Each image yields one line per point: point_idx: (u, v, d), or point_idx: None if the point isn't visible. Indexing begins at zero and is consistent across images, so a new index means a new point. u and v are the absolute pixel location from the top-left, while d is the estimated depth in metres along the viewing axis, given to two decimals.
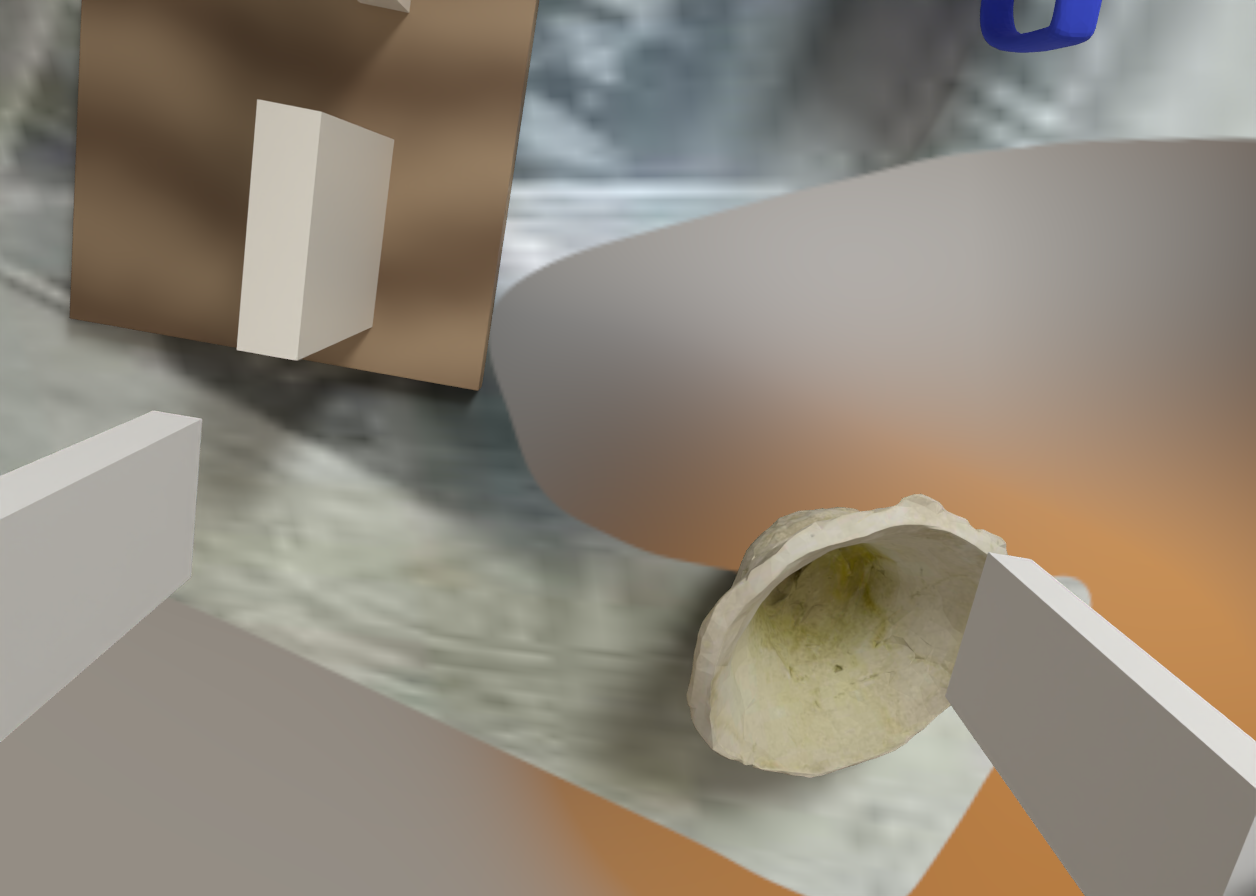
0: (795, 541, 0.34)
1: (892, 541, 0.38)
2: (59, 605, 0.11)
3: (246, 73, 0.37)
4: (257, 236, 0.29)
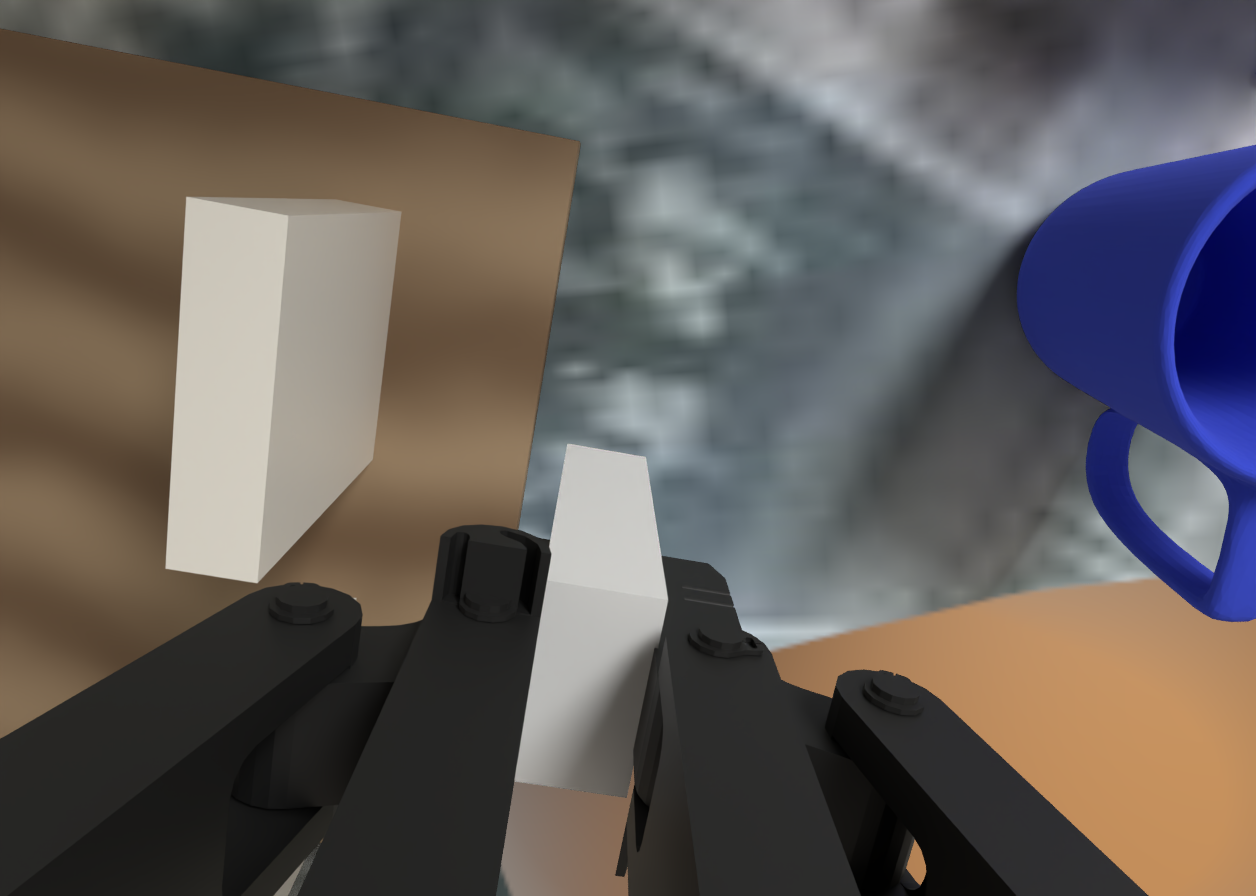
0: None
1: None
2: None
3: None
4: None
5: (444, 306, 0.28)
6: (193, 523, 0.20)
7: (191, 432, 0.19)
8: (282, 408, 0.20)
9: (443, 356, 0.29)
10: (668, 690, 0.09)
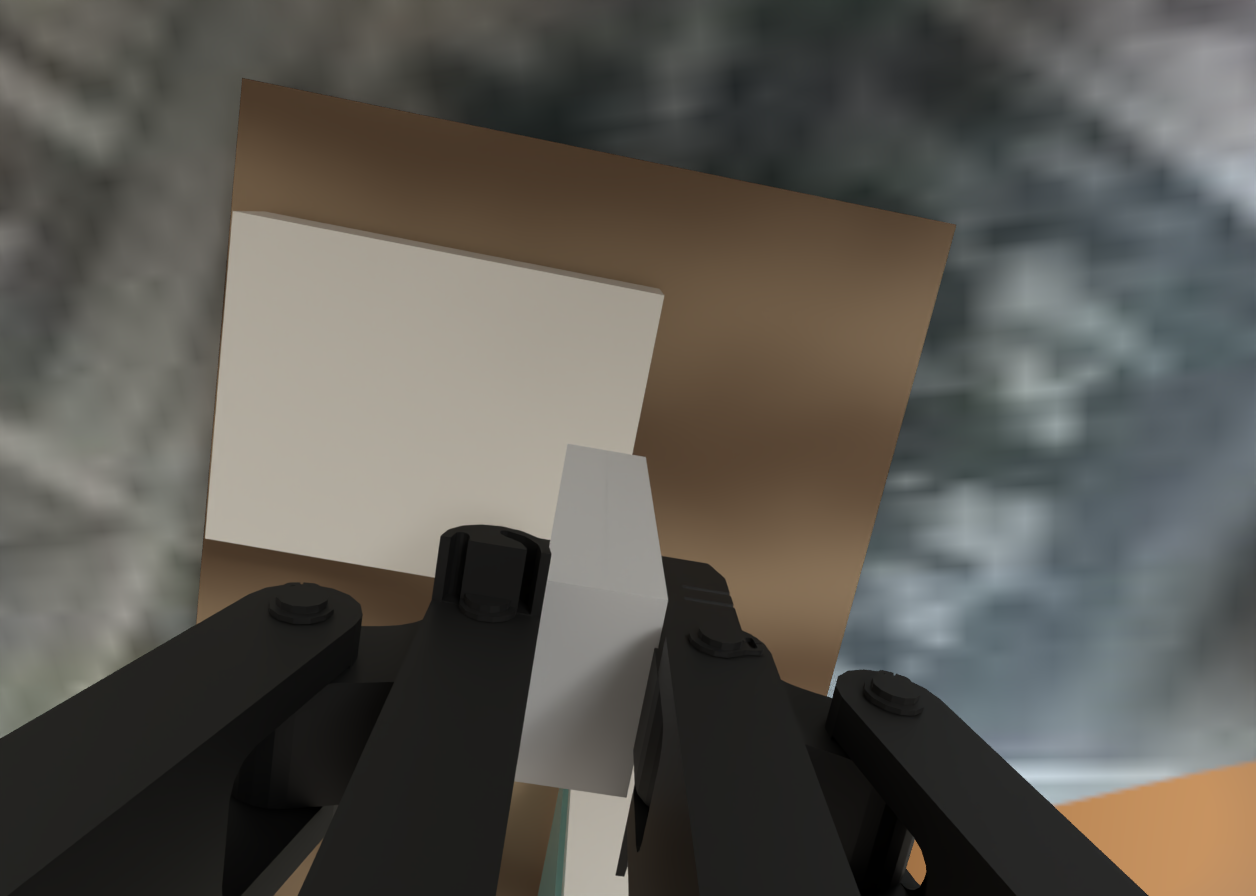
0: None
1: None
2: None
3: None
4: None
5: (778, 413, 0.24)
6: None
7: None
8: (246, 392, 0.21)
9: (770, 470, 0.24)
10: (668, 690, 0.09)
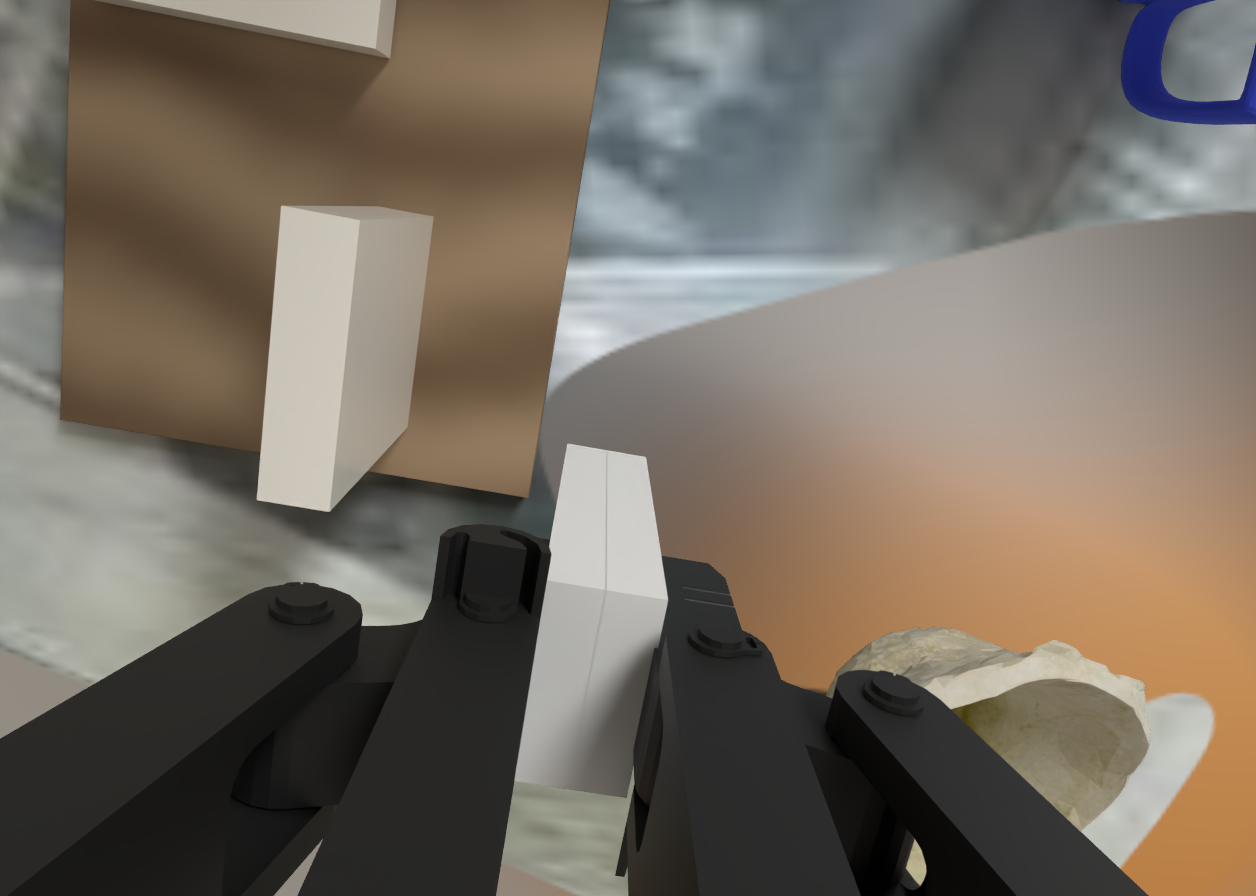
0: None
1: None
2: None
3: (262, 141, 0.32)
4: (281, 368, 0.24)
5: None
6: None
7: None
8: None
9: None
10: (668, 690, 0.09)
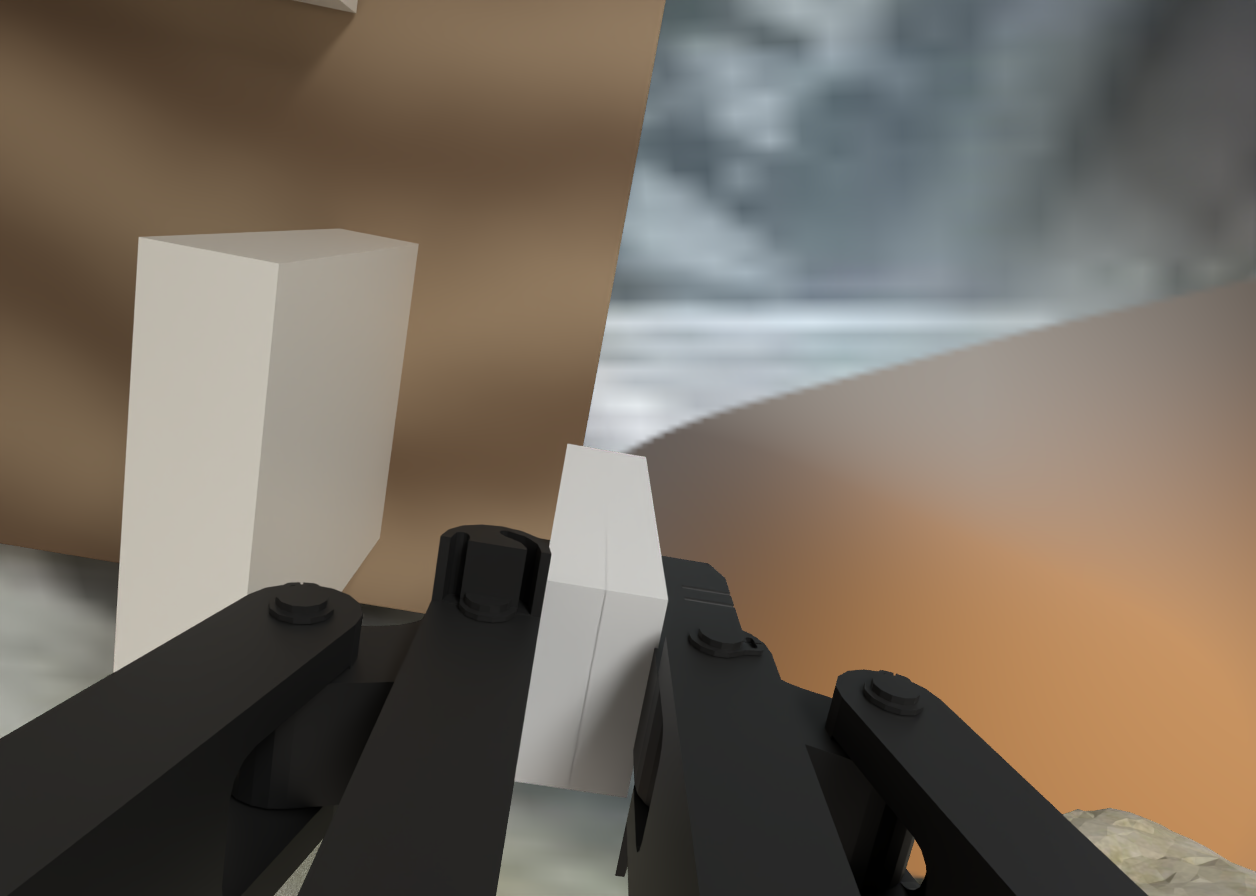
0: None
1: None
2: None
3: (169, 133, 0.22)
4: (146, 513, 0.14)
5: None
6: None
7: None
8: None
9: None
10: (668, 690, 0.09)
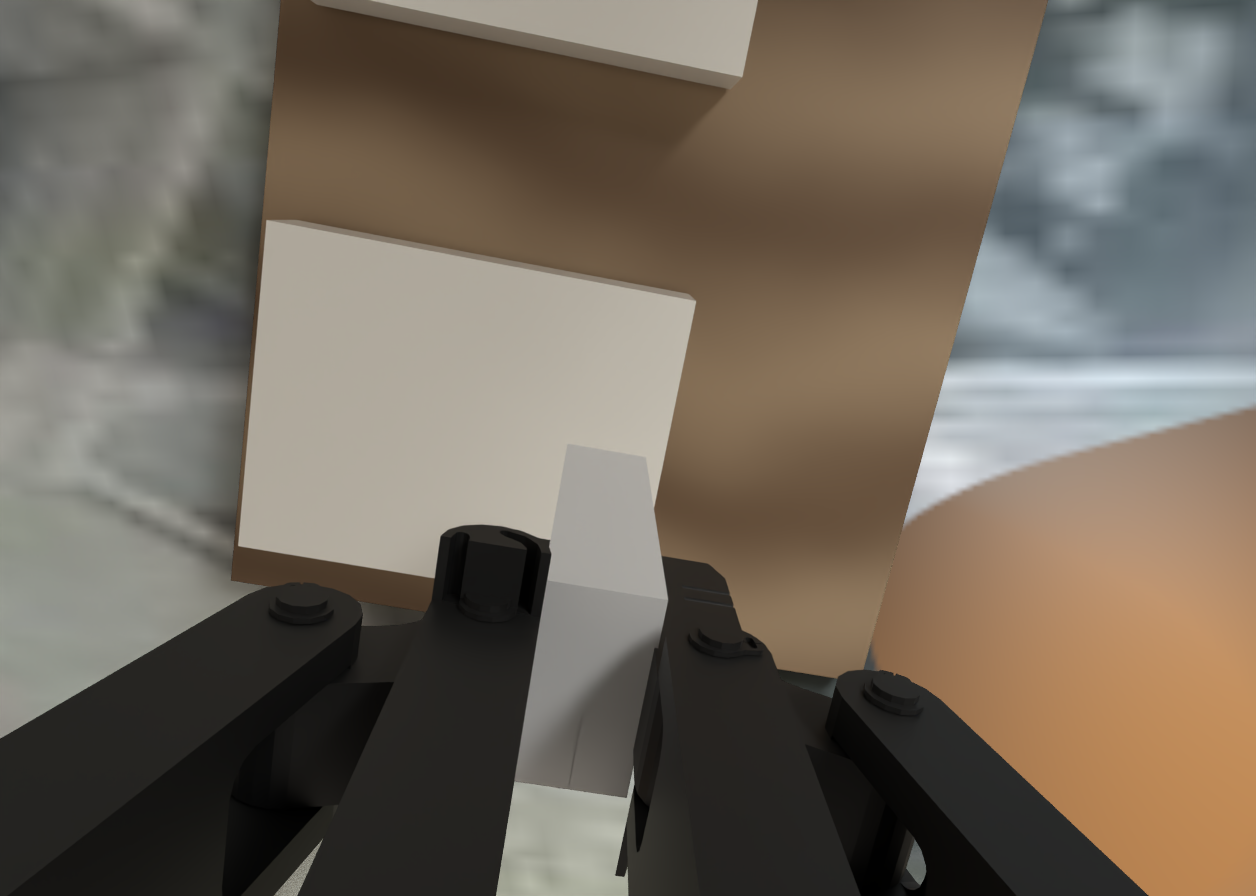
0: None
1: None
2: None
3: (538, 205, 0.23)
4: None
5: None
6: None
7: None
8: None
9: None
10: (668, 690, 0.09)
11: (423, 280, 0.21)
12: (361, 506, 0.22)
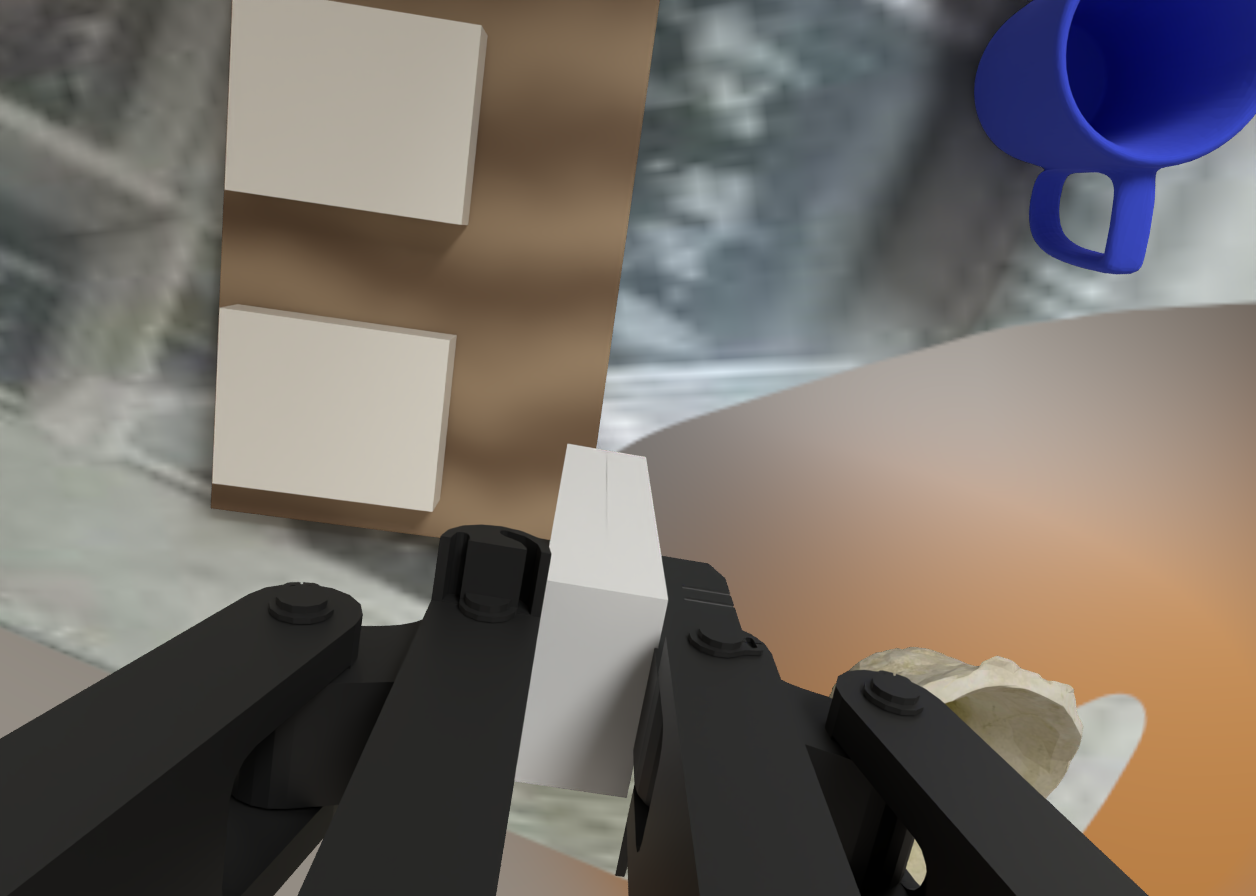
0: None
1: None
2: None
3: (370, 290, 0.41)
4: None
5: (567, 113, 0.40)
6: None
7: None
8: (245, 95, 0.37)
9: (566, 151, 0.40)
10: (668, 690, 0.09)
11: (303, 335, 0.40)
12: (278, 458, 0.41)
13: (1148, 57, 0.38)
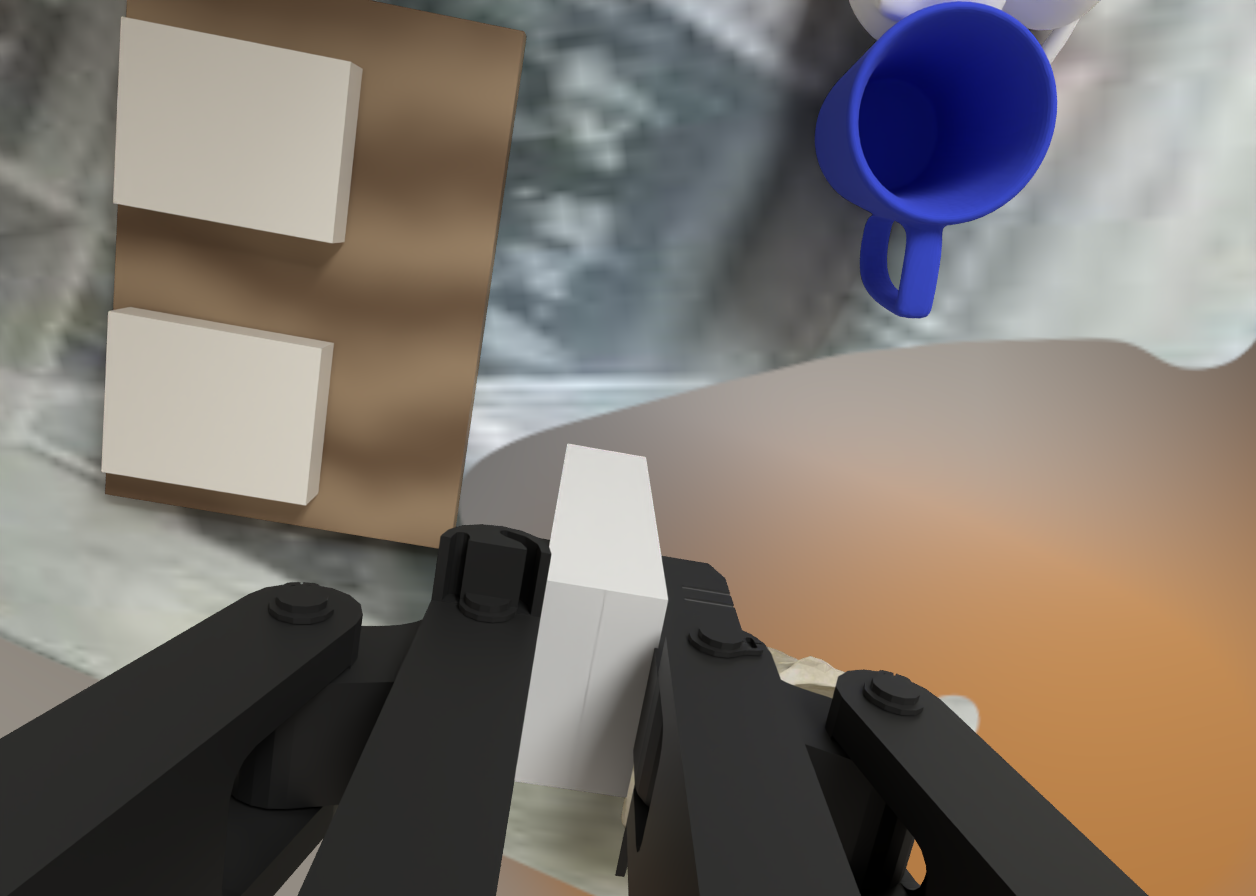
0: None
1: None
2: None
3: (253, 298, 0.45)
4: None
5: (436, 143, 0.43)
6: None
7: None
8: (132, 118, 0.40)
9: (435, 177, 0.43)
10: (668, 690, 0.09)
11: (186, 339, 0.43)
12: (162, 451, 0.44)
13: (964, 118, 0.41)
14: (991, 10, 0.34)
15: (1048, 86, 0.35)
